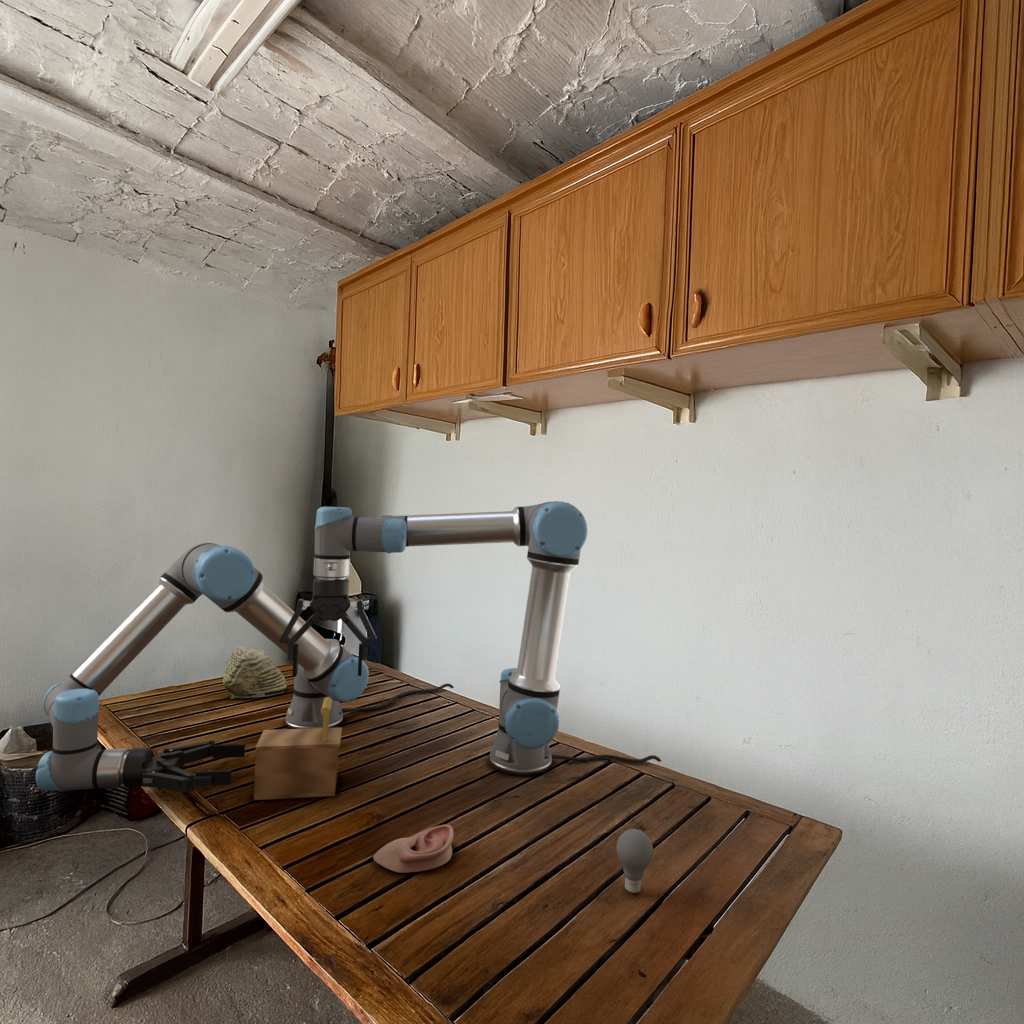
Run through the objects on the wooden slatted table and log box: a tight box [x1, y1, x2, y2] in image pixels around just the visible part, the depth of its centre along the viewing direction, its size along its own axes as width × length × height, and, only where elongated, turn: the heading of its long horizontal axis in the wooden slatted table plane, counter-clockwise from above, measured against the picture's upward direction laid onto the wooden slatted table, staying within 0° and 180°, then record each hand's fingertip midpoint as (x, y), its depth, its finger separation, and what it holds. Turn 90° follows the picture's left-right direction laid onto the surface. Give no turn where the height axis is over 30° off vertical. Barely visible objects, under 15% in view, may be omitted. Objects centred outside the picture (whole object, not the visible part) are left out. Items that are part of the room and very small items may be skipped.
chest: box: [253, 747, 339, 801], centre depth 137 cm, size 16×10×10 cm, turn 102°
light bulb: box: [615, 828, 654, 894], centre depth 106 cm, size 6×6×10 cm
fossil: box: [222, 646, 288, 699], centre depth 198 cm, size 9×18×15 cm, turn 132°
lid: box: [255, 697, 343, 751], centre depth 137 cm, size 17×10×8 cm, turn 102°
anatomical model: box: [372, 824, 455, 874], centre depth 113 cm, size 13×4×12 cm
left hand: (238, 763), depth 134 cm, fingers open, 13 cm apart
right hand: (327, 674), depth 138 cm, fingers open, 13 cm apart
